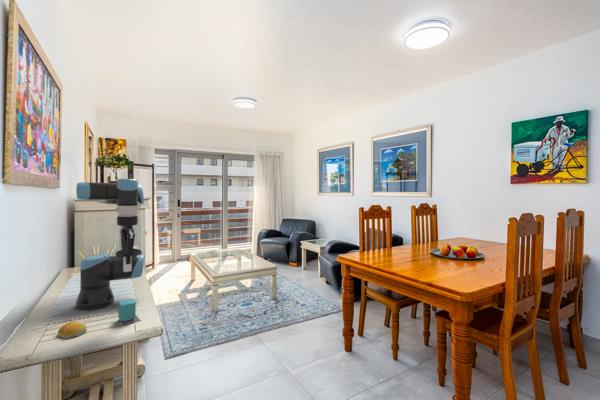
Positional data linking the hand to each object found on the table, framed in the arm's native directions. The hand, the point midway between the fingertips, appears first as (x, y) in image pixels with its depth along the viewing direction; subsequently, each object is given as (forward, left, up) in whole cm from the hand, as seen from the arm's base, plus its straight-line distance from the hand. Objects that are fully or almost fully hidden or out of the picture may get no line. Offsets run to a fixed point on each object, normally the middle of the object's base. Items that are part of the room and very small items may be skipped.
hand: (127, 271), depth 126 cm
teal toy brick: (+1, 0, -20) cm, 20 cm away
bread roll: (0, -19, -21) cm, 28 cm away
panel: (+1, +1, -21) cm, 21 cm away
